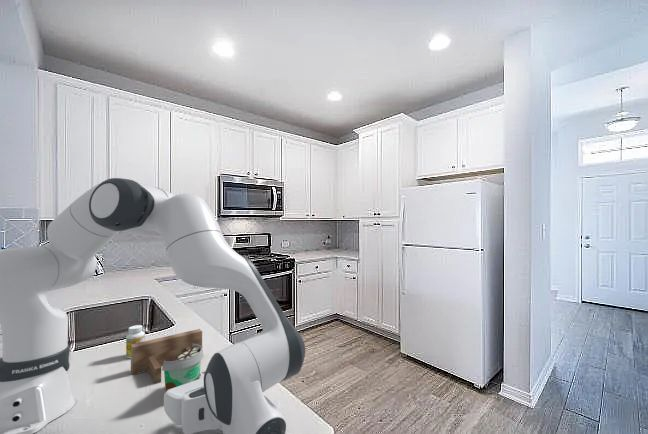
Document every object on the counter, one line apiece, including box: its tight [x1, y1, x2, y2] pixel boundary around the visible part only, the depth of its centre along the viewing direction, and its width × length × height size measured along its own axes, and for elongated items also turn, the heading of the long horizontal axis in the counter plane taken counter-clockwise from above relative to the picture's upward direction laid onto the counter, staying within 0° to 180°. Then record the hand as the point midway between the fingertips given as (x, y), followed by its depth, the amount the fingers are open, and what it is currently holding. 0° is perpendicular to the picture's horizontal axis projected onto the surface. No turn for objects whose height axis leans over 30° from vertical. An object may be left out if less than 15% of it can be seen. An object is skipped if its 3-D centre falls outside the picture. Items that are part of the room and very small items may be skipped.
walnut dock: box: [130, 328, 203, 384], centre depth 91 cm, size 20×13×8 cm, turn 131°
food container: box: [161, 344, 205, 392], centre depth 78 cm, size 12×6×10 cm, turn 168°
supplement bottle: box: [125, 324, 146, 360], centre depth 100 cm, size 5×5×10 cm
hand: (205, 374), depth 70 cm, fingers closed
